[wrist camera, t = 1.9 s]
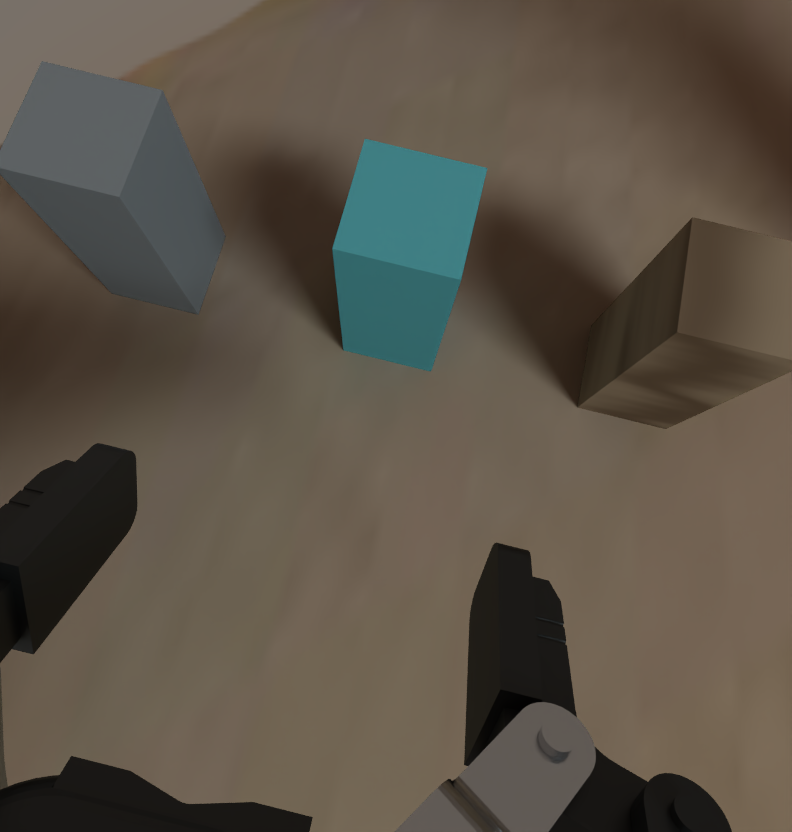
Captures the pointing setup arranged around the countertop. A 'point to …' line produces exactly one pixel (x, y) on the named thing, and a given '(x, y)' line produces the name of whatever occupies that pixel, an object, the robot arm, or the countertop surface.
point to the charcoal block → (115, 184)
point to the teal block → (403, 251)
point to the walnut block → (693, 327)
